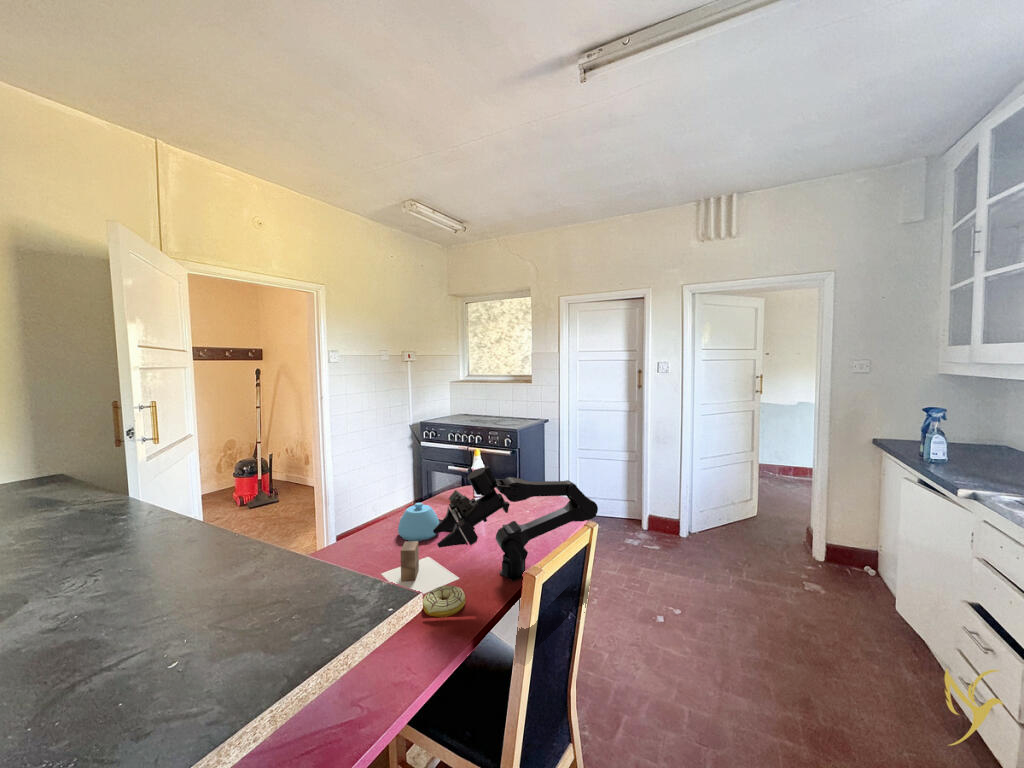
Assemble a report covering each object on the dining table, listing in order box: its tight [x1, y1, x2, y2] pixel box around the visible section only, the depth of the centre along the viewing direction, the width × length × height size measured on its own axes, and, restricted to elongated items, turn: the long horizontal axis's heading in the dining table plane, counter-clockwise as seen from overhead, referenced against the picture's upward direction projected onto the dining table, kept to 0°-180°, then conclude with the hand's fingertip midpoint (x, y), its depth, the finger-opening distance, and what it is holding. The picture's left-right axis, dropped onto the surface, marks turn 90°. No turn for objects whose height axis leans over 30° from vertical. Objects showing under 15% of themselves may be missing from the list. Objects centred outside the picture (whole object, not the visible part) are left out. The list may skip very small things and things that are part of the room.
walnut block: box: [400, 540, 420, 582], centre depth 117 cm, size 4×6×9 cm, turn 3°
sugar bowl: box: [397, 502, 440, 542], centre depth 148 cm, size 15×15×12 cm
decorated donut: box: [422, 584, 466, 619], centre depth 103 cm, size 10×11×4 cm
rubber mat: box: [380, 556, 461, 595], centre depth 117 cm, size 16×18×1 cm
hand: (435, 538), depth 112 cm, fingers open, 9 cm apart
